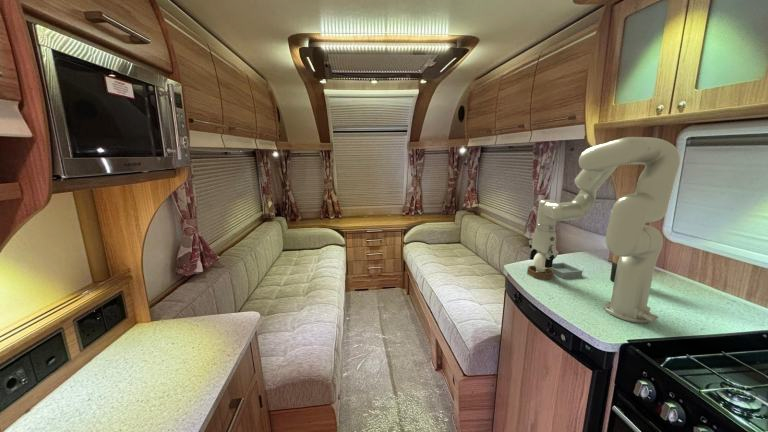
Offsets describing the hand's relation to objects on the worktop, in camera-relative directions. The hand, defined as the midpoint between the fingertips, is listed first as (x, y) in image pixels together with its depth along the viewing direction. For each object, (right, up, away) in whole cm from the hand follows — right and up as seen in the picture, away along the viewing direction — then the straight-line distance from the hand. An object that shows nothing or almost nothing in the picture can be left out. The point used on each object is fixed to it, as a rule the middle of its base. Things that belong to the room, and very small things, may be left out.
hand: (540, 263), depth 136 cm
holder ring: (0, -5, +1) cm, 5 cm away
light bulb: (0, -6, +1) cm, 6 cm away
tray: (+12, -5, +3) cm, 13 cm away
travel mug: (+31, -7, -7) cm, 33 cm away
